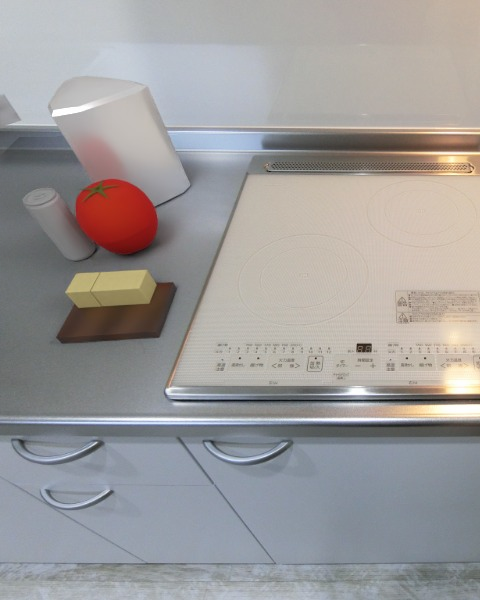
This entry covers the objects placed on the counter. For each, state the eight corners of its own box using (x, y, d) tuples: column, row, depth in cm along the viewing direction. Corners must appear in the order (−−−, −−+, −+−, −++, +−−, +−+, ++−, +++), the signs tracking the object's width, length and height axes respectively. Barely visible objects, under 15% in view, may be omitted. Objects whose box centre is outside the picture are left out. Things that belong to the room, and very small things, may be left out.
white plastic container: (193, 184, 90) (146, 73, 74) (151, 227, 81) (87, 111, 65) (130, 174, 93) (71, 65, 76) (83, 215, 84) (4, 100, 67)
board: (61, 343, 64) (55, 337, 63) (88, 293, 70) (83, 286, 69) (159, 337, 64) (154, 331, 63) (177, 288, 71) (173, 281, 70)
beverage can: (62, 253, 77) (17, 195, 68) (91, 240, 79) (50, 183, 70) (72, 266, 74) (26, 209, 65) (101, 253, 77) (60, 195, 68)
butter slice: (78, 308, 66) (64, 292, 64) (88, 288, 69) (76, 273, 66) (102, 306, 66) (89, 291, 64) (111, 287, 69) (99, 271, 66)
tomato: (146, 219, 83) (112, 158, 73) (181, 240, 79) (150, 179, 69) (89, 252, 77) (44, 190, 67) (124, 277, 73) (81, 215, 63)
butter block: (102, 306, 66) (90, 291, 64) (112, 287, 69) (100, 271, 66) (149, 303, 67) (139, 288, 64) (157, 284, 69) (147, 269, 67)
